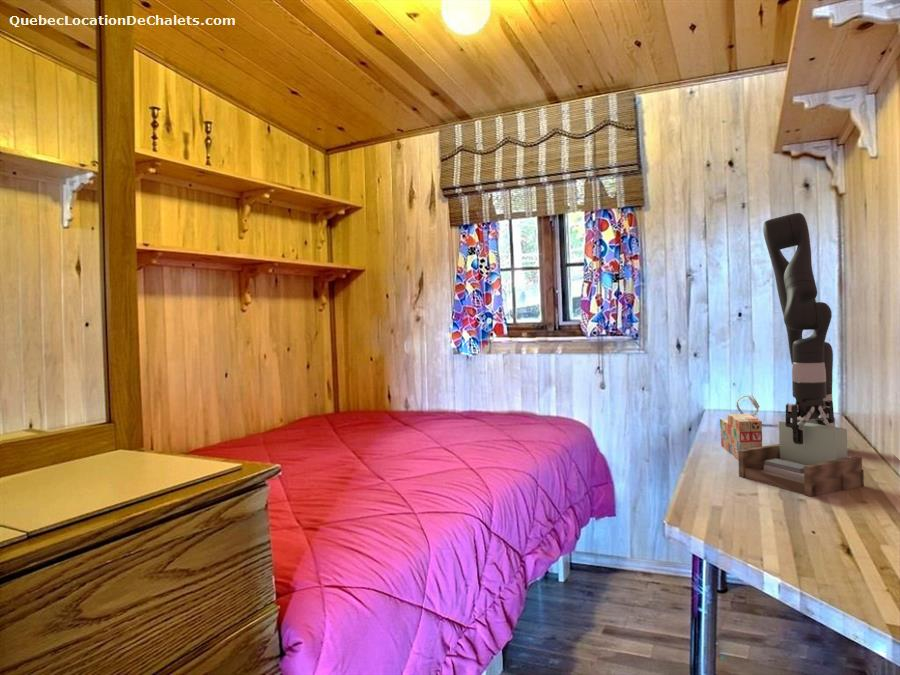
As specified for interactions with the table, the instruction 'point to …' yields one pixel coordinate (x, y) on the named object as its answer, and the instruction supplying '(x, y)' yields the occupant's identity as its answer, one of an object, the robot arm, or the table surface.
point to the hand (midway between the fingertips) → (810, 442)
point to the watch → (752, 403)
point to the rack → (815, 476)
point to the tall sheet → (813, 444)
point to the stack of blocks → (740, 433)
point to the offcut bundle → (785, 468)
